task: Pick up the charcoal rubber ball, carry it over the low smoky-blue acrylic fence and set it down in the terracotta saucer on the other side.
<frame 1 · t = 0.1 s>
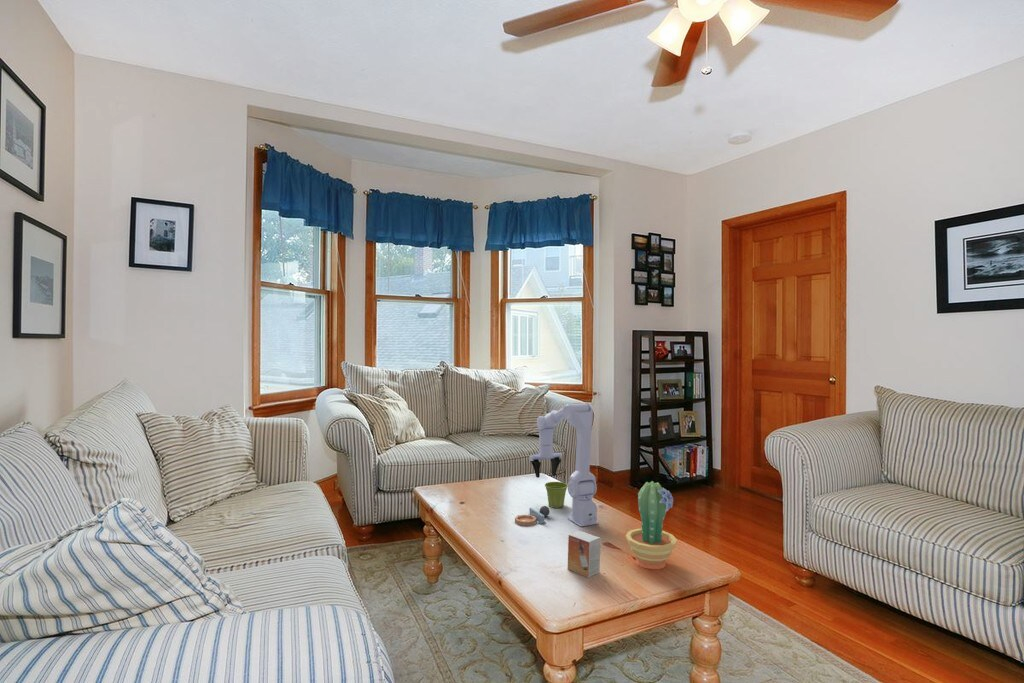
hand: (545, 476, 225), 10 cm above the table, fingers open, 7 cm apart
fence: (536, 519, 201), on the table
potted cactus: (650, 563, 164), on the table
small box: (583, 571, 158), on the table
plant pot: (556, 506, 218), on the table
ball: (544, 516, 205), on the table
saucer: (525, 521, 199), on the table
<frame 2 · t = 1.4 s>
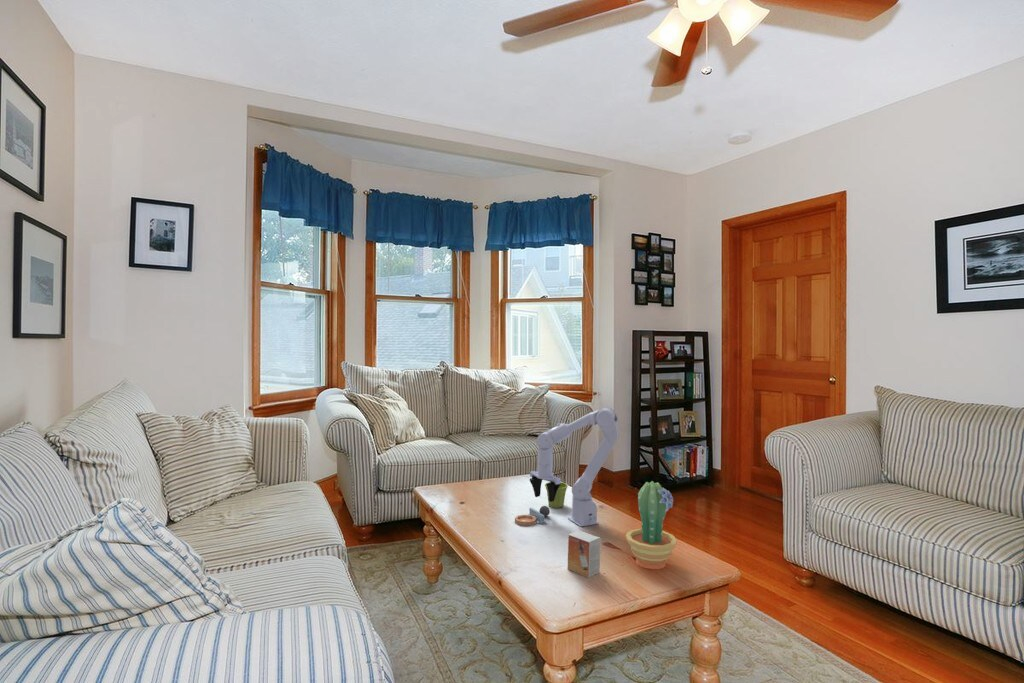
hand: (544, 498, 205), 7 cm above the table, fingers open, 7 cm apart
nothing on the table moved.
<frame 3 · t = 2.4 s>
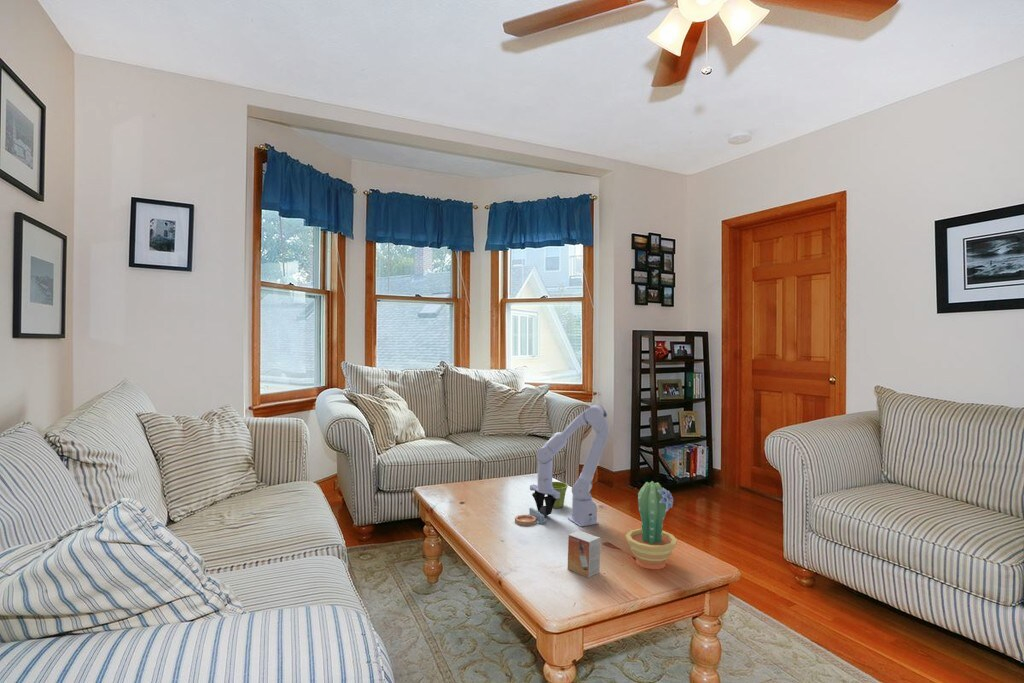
hand: (544, 512, 205), 1 cm above the table, fingers closed on ball, 4 cm apart
ball: (544, 516, 205), on the table, touching gripper
everything else where it was.
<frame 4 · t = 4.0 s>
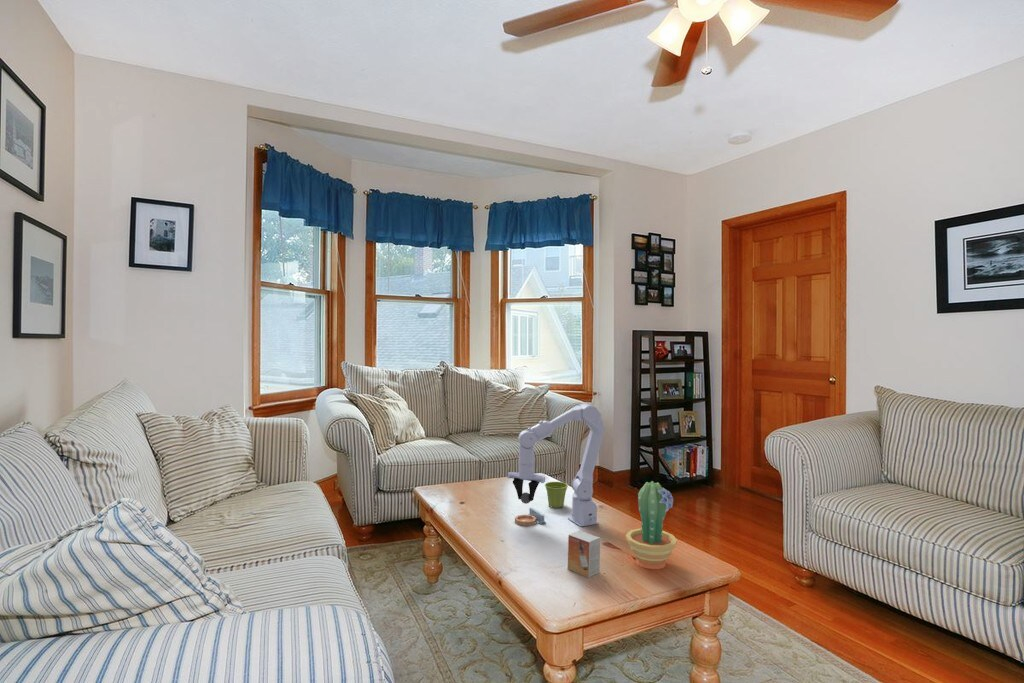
hand: (525, 499, 198), 8 cm above the table, fingers closed on ball, 4 cm apart
ball: (525, 503, 199), point 7 cm above the table, touching gripper
everything else where it was.
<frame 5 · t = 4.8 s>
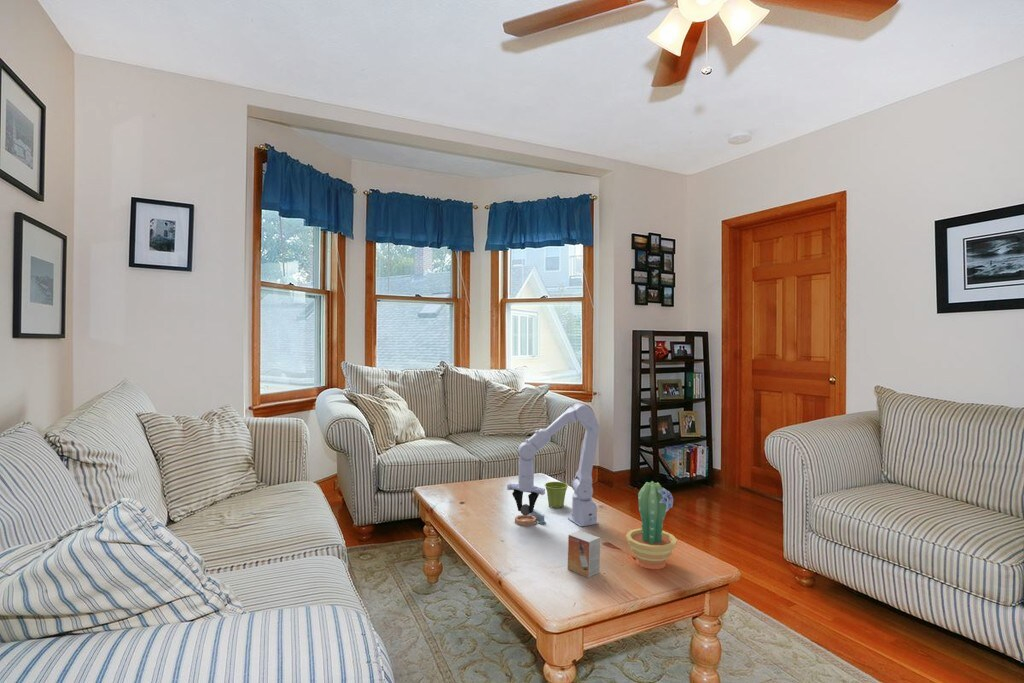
hand: (525, 511, 198), 4 cm above the table, fingers closed on ball, 4 cm apart
ball: (525, 515, 199), point 3 cm above the table, touching gripper
everything else where it was.
when the fingers open (3 cm above the table, at t = 5.4 s): ball stays where it is, resting on saucer.
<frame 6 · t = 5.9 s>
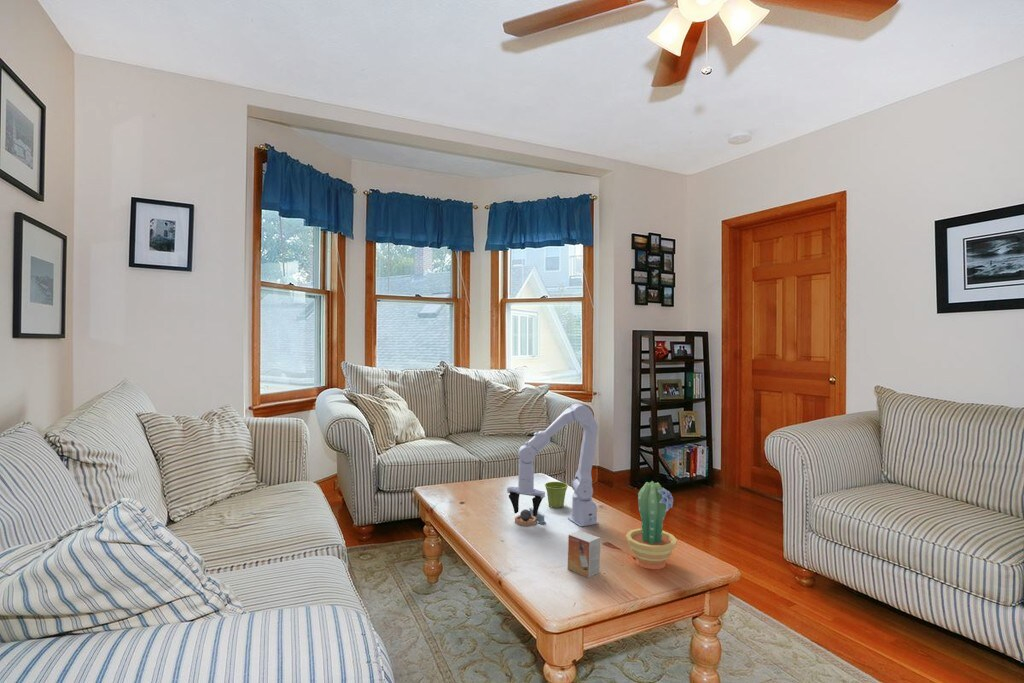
hand: (525, 514, 198), 3 cm above the table, fingers open, 7 cm apart
ball: (525, 520, 199), point 1 cm above the table, touching saucer
everything else where it was.
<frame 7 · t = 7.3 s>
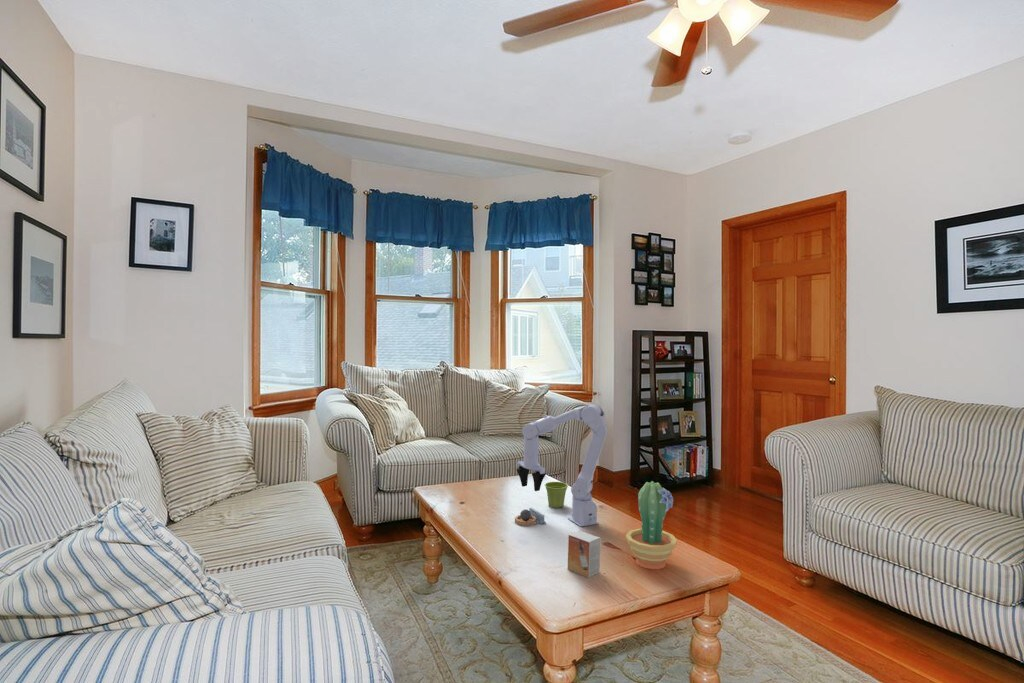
hand: (530, 488, 208), 10 cm above the table, fingers open, 7 cm apart
nothing on the table moved.
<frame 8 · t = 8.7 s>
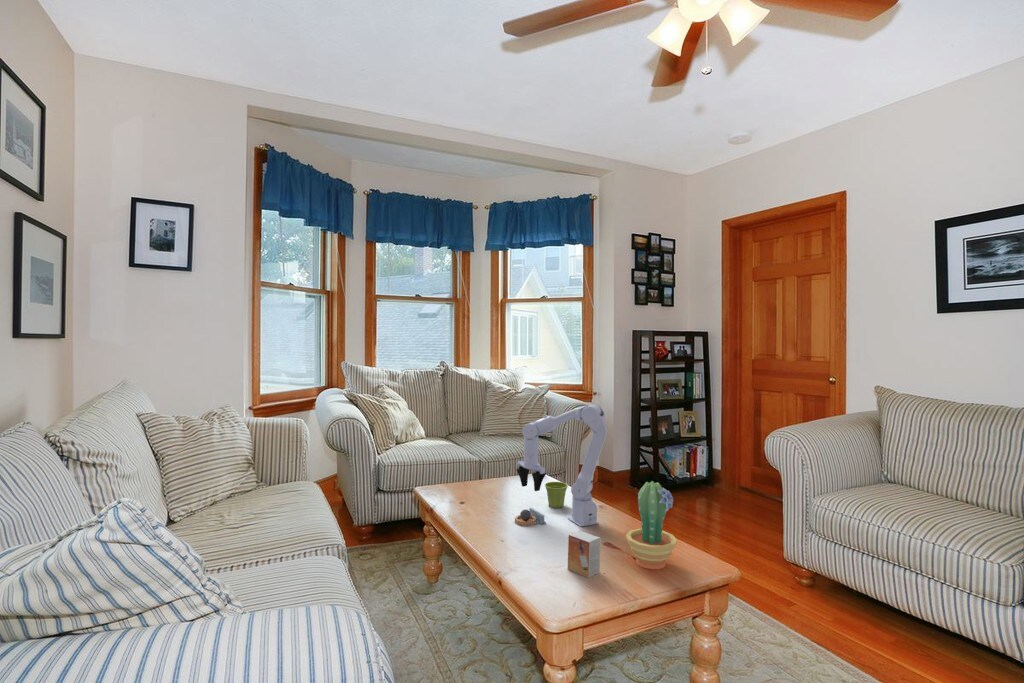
hand: (530, 488, 208), 10 cm above the table, fingers open, 7 cm apart
nothing on the table moved.
at the end: ball 0.0 cm off-centre on the saucer, point 0.6 cm above the saucer's base; the gripper is holding nothing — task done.
